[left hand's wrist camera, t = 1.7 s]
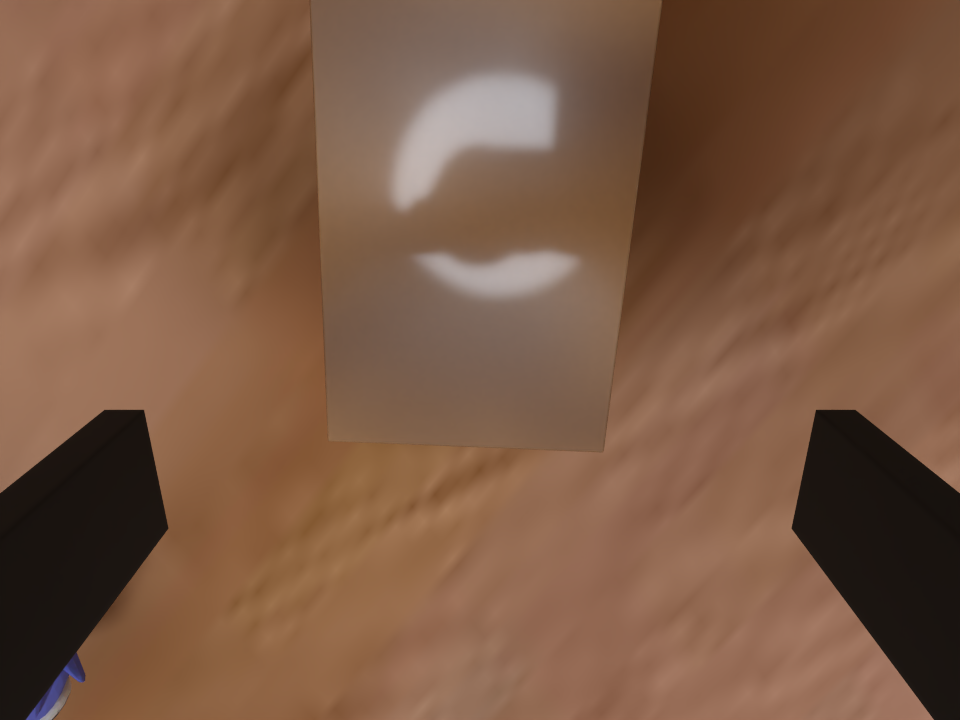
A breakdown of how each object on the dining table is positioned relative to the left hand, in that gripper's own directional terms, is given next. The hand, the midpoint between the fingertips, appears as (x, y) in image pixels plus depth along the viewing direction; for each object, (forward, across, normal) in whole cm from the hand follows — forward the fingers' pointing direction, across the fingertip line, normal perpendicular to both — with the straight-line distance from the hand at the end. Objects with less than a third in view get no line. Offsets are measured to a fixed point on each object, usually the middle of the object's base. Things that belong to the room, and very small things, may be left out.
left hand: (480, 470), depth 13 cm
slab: (+15, -1, -35) cm, 38 cm away
